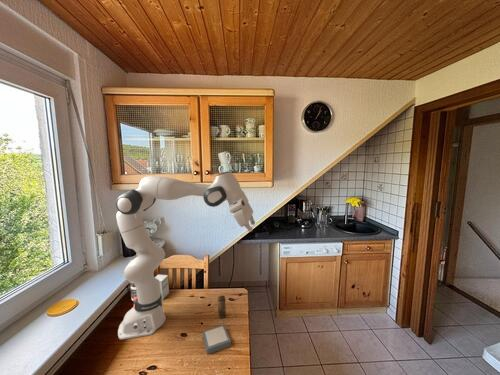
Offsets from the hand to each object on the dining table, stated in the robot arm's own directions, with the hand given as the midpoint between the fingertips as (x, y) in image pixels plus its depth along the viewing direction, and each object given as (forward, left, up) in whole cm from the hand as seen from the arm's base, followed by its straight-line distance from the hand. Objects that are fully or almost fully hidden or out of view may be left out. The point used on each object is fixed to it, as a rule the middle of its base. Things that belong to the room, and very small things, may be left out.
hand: (252, 227), depth 105 cm
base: (-20, -1, -53) cm, 57 cm away
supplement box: (-44, +47, -53) cm, 84 cm away
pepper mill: (-13, +14, -53) cm, 56 cm away
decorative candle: (-57, +52, -53) cm, 94 cm away
